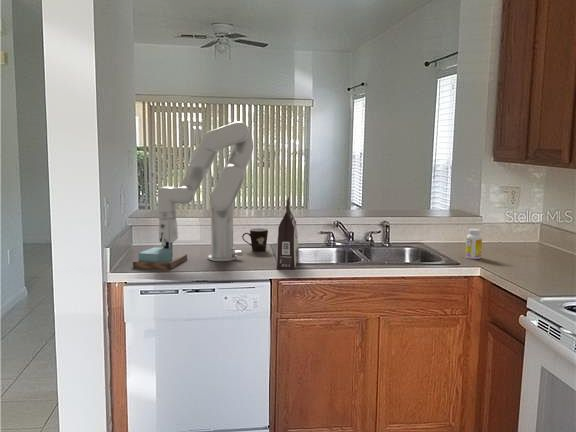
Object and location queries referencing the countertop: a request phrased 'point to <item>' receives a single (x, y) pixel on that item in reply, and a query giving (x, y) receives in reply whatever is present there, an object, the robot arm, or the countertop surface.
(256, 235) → the coffee mug
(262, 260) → the countertop surface
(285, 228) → the protein powder
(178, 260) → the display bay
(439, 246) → the countertop surface
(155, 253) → the carton
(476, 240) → the supplement bottle
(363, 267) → the countertop surface
